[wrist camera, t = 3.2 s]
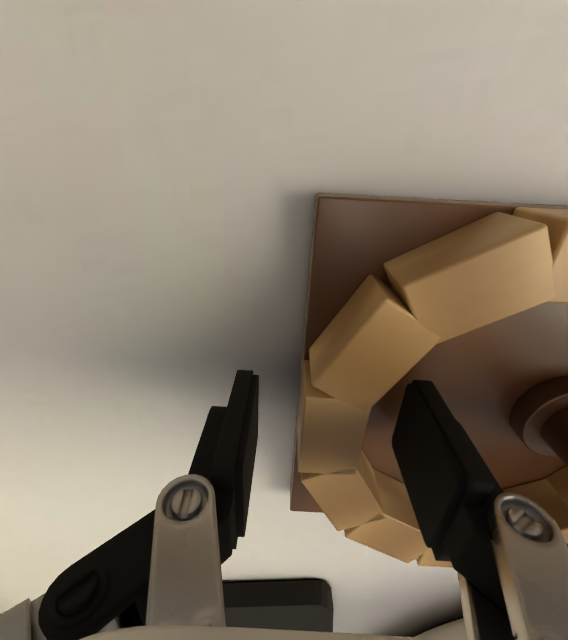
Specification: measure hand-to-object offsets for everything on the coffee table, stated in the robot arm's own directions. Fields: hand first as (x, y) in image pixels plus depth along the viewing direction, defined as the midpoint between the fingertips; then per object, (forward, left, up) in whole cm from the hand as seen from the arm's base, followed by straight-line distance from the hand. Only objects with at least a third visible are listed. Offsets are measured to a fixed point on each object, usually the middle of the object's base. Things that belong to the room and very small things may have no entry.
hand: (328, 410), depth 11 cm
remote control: (+10, -16, -2) cm, 19 cm away
